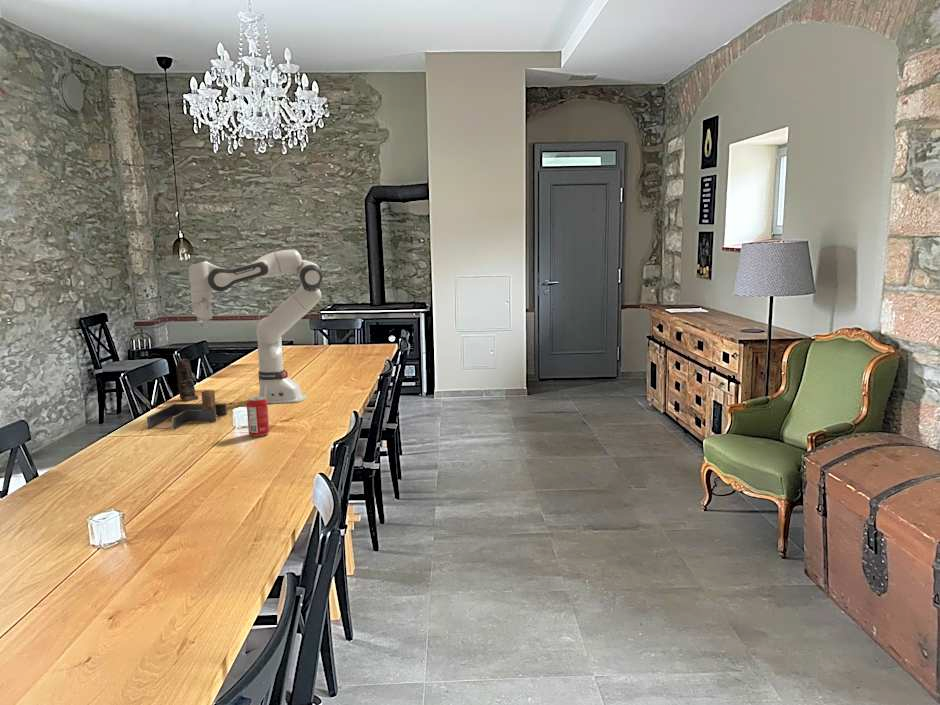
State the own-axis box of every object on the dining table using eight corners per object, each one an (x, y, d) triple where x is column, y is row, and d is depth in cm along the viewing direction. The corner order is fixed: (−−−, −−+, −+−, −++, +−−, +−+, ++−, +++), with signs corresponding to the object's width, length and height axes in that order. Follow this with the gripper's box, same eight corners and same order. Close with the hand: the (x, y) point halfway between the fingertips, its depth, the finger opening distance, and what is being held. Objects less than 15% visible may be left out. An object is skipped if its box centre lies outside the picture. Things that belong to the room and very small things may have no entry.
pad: (181, 423, 308) (181, 422, 308) (172, 428, 300) (172, 427, 300) (163, 423, 309) (163, 422, 309) (153, 428, 301) (153, 427, 301)
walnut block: (216, 417, 317) (214, 390, 315) (212, 419, 313) (210, 392, 311) (207, 417, 317) (205, 390, 315) (203, 419, 313) (201, 392, 311)
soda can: (248, 438, 284) (246, 401, 281) (249, 433, 291) (246, 396, 289) (269, 436, 286) (267, 399, 283) (269, 431, 293) (267, 395, 291)
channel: (226, 414, 321) (225, 403, 320) (204, 429, 298) (203, 417, 297) (174, 414, 323) (173, 403, 322) (147, 429, 300) (146, 417, 299)
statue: (186, 401, 347) (182, 360, 343) (177, 399, 351) (174, 359, 348) (199, 399, 352) (195, 358, 349) (190, 397, 356) (187, 357, 353)
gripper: (214, 298, 320) (217, 329, 323) (203, 295, 337) (205, 324, 339) (199, 299, 317) (202, 330, 319) (188, 296, 334) (191, 325, 336)
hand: (203, 327), depth 329 cm, fingers open, 8 cm apart
